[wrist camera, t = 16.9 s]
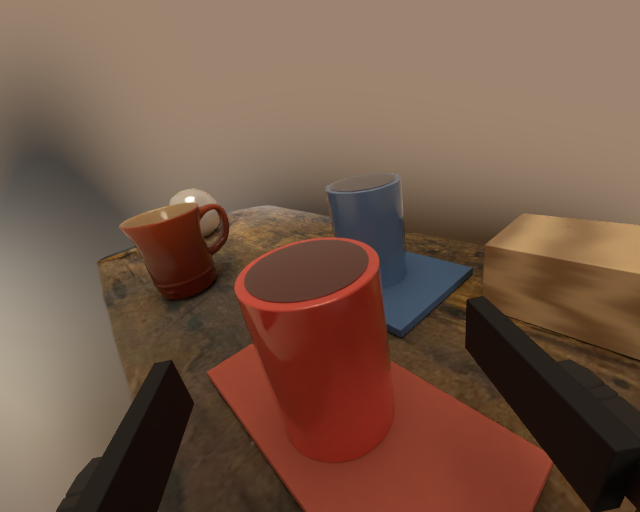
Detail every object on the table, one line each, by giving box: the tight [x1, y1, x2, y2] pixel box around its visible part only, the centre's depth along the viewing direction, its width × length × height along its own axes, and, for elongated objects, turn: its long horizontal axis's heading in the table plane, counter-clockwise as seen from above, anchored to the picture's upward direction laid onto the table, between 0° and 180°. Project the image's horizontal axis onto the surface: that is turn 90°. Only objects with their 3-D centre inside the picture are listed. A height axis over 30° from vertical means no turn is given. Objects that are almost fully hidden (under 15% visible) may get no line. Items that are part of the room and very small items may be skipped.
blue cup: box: [326, 173, 407, 288], centre depth 31 cm, size 7×7×10 cm
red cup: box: [234, 237, 395, 463], centre depth 17 cm, size 7×7×10 cm
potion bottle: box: [169, 188, 219, 237], centre depth 57 cm, size 9×10×15 cm
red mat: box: [207, 343, 553, 512], centre depth 19 cm, size 20×10×1 cm, turn 40°
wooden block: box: [482, 213, 640, 360], centre depth 23 cm, size 10×8×6 cm
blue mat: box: [383, 251, 473, 338], centre depth 33 cm, size 14×12×1 cm
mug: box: [119, 203, 229, 300], centre depth 38 cm, size 12×9×10 cm
